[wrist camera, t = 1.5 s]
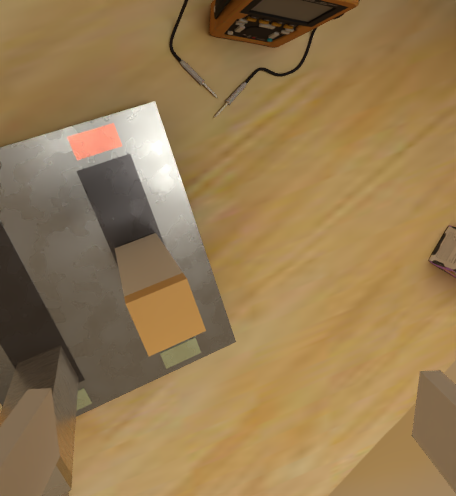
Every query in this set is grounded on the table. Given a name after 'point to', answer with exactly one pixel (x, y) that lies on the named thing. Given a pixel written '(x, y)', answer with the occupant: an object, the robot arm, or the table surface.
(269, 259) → the table surface
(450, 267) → the candy box
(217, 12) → the multimeter
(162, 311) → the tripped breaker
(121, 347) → the dual slider panel
